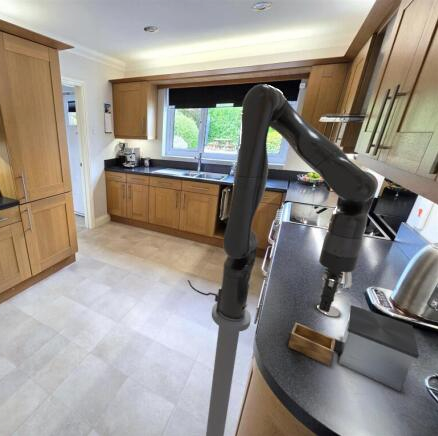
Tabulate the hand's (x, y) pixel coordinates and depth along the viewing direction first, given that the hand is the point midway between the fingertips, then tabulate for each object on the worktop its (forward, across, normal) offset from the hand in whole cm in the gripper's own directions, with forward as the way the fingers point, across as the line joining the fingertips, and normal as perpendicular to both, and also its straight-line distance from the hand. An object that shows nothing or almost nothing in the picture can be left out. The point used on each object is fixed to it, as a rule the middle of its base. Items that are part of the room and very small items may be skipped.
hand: (325, 302), depth 67 cm
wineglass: (+16, -23, +1) cm, 28 cm away
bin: (+16, -4, +12) cm, 20 cm away
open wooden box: (+16, +2, -1) cm, 16 cm away
